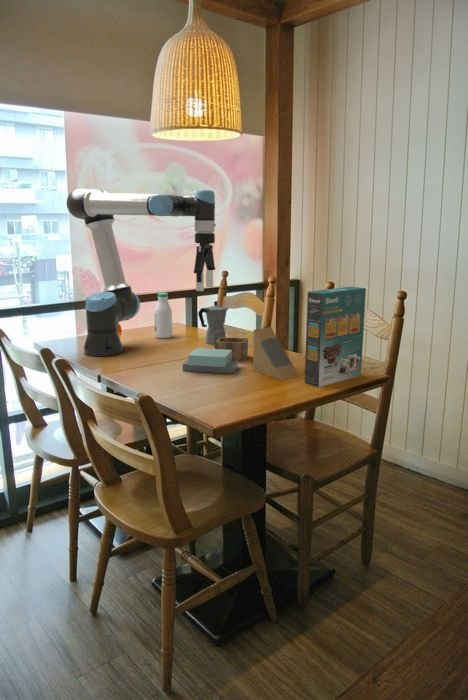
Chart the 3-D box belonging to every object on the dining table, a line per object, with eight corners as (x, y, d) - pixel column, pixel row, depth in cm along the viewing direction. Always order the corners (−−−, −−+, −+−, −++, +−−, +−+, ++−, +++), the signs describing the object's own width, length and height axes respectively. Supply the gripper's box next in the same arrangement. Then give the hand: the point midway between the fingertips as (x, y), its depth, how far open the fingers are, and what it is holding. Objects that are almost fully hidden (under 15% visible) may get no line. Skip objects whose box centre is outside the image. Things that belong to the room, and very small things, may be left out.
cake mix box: (346, 371, 198) (351, 286, 191) (360, 375, 194) (365, 288, 187) (304, 383, 184) (307, 291, 177) (318, 387, 180) (322, 293, 173)
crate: (215, 359, 214) (215, 341, 213) (220, 354, 223) (220, 337, 221) (243, 361, 212) (243, 343, 211) (247, 355, 221) (247, 338, 219)
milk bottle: (175, 336, 256) (174, 292, 252) (165, 339, 250) (164, 294, 246) (162, 334, 260) (161, 291, 256) (151, 337, 254) (150, 293, 250)
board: (182, 370, 198) (182, 363, 198) (189, 364, 207) (189, 357, 206) (232, 373, 195) (232, 366, 194) (237, 367, 204) (237, 360, 203)
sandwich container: (282, 380, 187) (283, 336, 184) (252, 371, 199) (252, 329, 196) (300, 376, 193) (302, 333, 189) (270, 367, 204) (271, 326, 201)
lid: (188, 365, 196) (188, 355, 196) (196, 357, 207) (196, 348, 206) (225, 367, 194) (225, 357, 193) (231, 359, 205) (231, 349, 204)
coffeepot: (222, 338, 252) (222, 298, 248) (234, 342, 245) (234, 301, 240) (192, 343, 243) (192, 301, 239) (204, 346, 236) (204, 304, 232)
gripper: (205, 233, 200) (205, 293, 205) (222, 232, 224) (222, 285, 228) (185, 233, 201) (185, 292, 206) (204, 231, 225) (204, 284, 230)
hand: (204, 288), depth 217 cm, fingers open, 13 cm apart
